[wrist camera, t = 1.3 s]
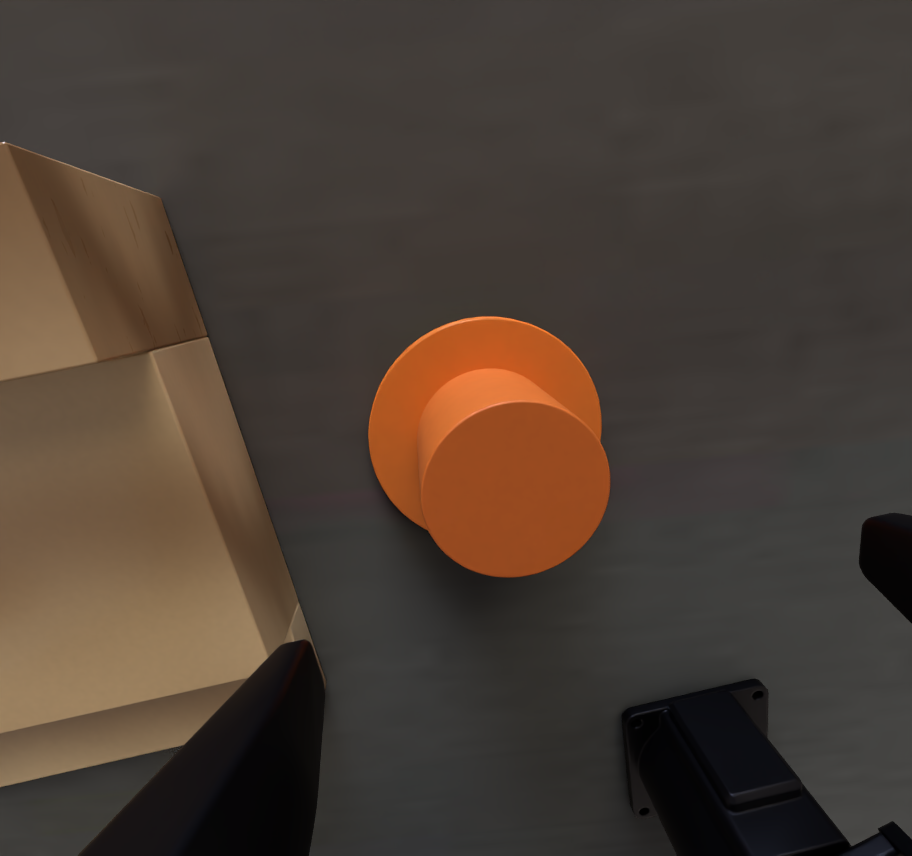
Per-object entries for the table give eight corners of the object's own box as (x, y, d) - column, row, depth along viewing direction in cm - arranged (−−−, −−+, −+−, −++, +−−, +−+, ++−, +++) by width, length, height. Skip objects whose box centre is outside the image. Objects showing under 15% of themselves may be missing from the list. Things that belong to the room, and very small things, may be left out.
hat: (605, 510, 18) (678, 594, 13) (398, 554, 18) (394, 657, 13) (584, 295, 15) (665, 298, 11) (343, 342, 15) (313, 369, 10)
